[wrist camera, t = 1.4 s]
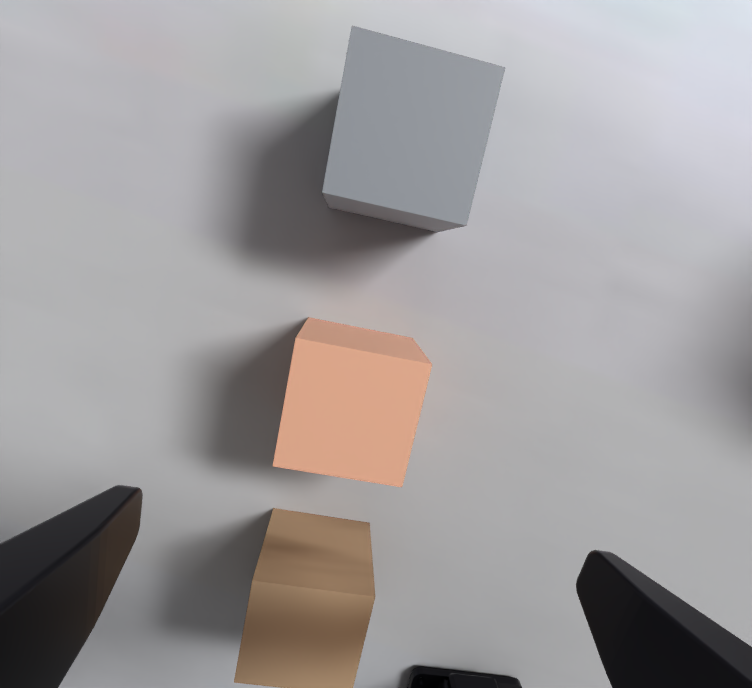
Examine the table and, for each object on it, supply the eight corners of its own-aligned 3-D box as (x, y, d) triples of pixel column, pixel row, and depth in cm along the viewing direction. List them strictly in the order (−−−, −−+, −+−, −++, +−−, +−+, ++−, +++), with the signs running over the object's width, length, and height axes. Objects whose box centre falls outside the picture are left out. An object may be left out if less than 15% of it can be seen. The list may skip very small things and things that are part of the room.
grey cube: (436, 232, 20) (466, 225, 15) (328, 207, 19) (321, 192, 14) (464, 115, 19) (505, 67, 14) (350, 86, 18) (351, 25, 13)
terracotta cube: (389, 433, 21) (402, 487, 17) (290, 416, 21) (272, 466, 16) (412, 337, 20) (432, 364, 16) (308, 317, 20) (295, 338, 15)
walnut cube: (350, 602, 23) (351, 695, 18) (258, 590, 23) (233, 682, 18) (369, 521, 22) (375, 596, 18) (273, 507, 22) (252, 580, 17)
